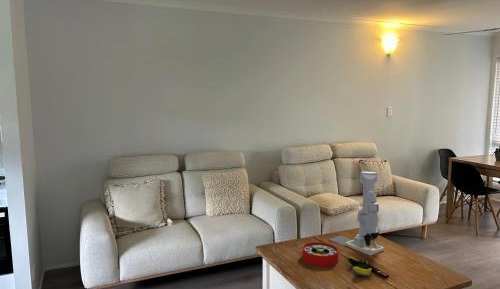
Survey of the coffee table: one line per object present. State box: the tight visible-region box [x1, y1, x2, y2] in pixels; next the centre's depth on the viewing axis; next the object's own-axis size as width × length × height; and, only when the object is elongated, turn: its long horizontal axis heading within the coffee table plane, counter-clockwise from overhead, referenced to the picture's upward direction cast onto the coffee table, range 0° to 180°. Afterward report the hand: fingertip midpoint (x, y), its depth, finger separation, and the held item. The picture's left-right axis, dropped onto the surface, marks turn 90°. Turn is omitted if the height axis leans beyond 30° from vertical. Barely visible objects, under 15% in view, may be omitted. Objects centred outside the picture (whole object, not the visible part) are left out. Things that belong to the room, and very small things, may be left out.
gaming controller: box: [347, 256, 372, 277], centre depth 196 cm, size 15×6×10 cm
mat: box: [328, 235, 353, 246], centre depth 237 cm, size 12×12×1 cm
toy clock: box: [301, 241, 340, 267], centre depth 211 cm, size 20×6×20 cm
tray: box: [345, 239, 385, 257], centre depth 226 cm, size 18×13×2 cm
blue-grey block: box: [353, 235, 365, 247], centre depth 229 cm, size 4×4×5 cm
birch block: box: [365, 238, 377, 249], centre depth 222 cm, size 4×4×5 cm
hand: (370, 244), depth 222 cm, fingers closed on birch block, 4 cm apart
